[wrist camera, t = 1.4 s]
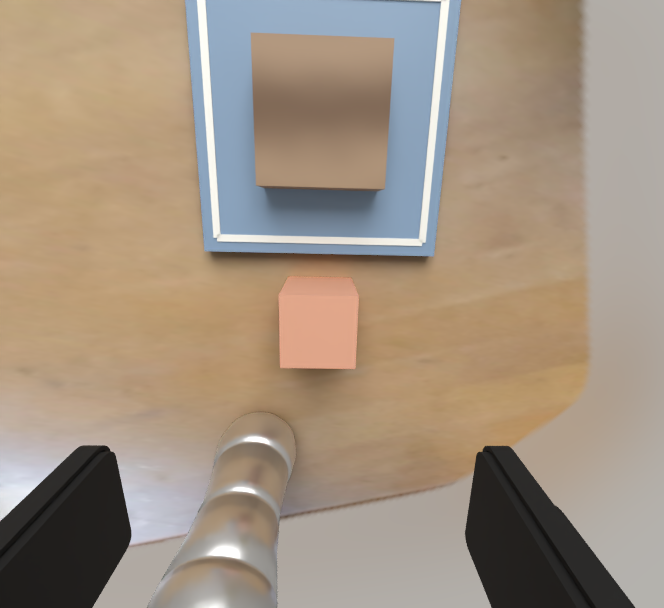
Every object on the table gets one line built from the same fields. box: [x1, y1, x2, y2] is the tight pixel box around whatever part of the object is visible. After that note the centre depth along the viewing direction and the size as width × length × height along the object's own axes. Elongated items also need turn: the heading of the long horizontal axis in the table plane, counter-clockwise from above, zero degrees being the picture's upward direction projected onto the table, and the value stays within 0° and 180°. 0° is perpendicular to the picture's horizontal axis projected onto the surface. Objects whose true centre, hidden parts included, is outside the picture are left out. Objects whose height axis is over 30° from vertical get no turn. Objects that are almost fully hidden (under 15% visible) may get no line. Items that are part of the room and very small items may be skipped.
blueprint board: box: [185, 0, 461, 256], centre depth 23 cm, size 17×17×1 cm
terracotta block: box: [279, 276, 359, 369], centre depth 25 cm, size 5×5×6 cm
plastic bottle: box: [147, 412, 296, 608], centre depth 21 cm, size 6×7×20 cm
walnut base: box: [251, 33, 394, 191], centre depth 21 cm, size 8×8×3 cm
